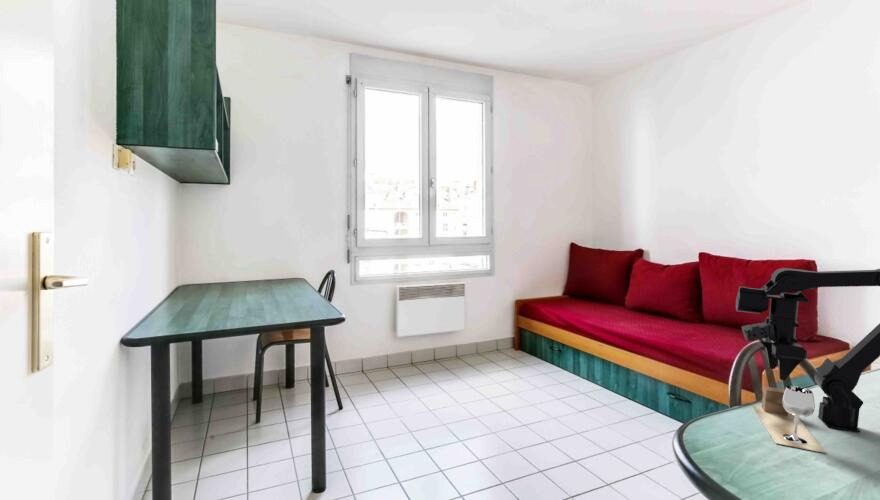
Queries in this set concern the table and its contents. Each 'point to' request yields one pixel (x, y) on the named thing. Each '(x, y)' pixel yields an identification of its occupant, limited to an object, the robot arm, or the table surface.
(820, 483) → the table surface
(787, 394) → the wineglass
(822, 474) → the table surface
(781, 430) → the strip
